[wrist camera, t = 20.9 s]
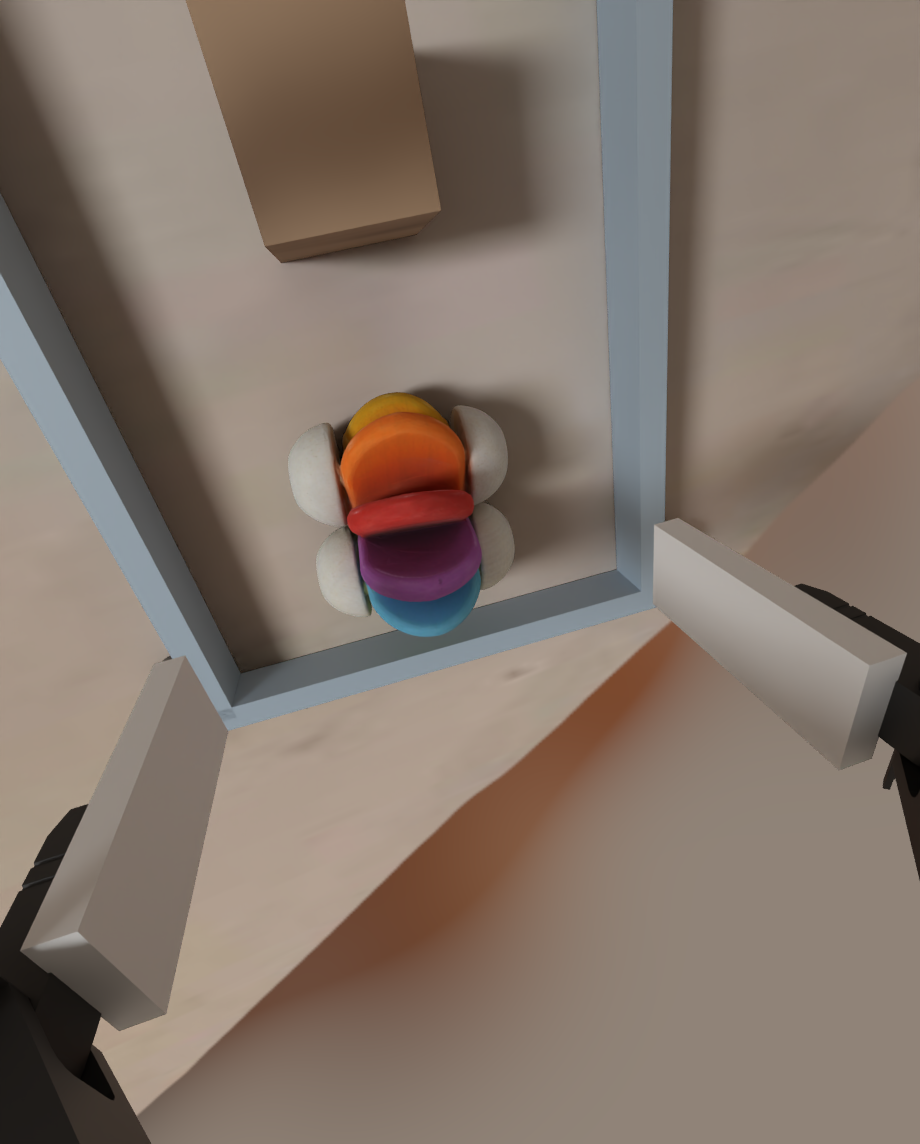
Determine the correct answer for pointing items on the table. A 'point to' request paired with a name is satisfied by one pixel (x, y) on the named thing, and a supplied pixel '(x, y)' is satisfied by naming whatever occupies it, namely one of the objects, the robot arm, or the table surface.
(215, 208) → the table surface
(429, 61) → the table surface
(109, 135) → the table surface
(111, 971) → the robot arm
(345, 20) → the walnut block
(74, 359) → the cart frame
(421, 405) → the rainbow segmented toy
